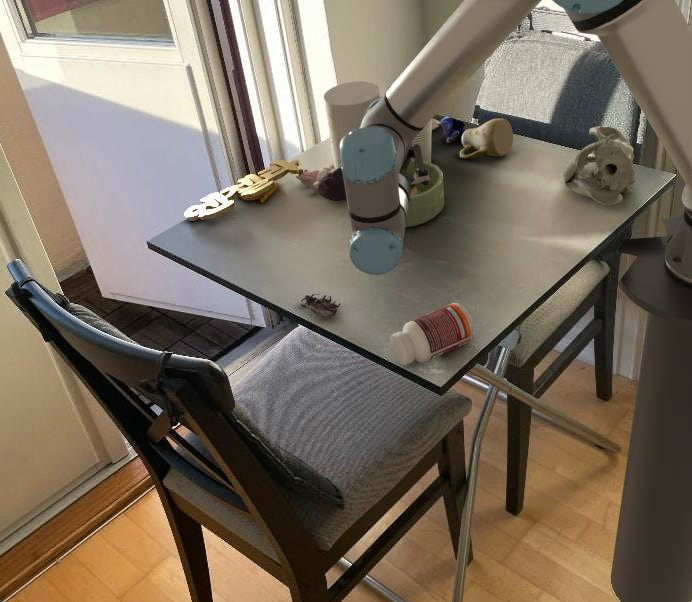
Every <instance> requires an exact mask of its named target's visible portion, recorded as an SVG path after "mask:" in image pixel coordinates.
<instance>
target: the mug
mask: <svg viewBox="0 0 692 602" xmlns="http://www.w3.org/2000/svg"><path fill="white" fill-rule="evenodd" d="M465 130H466V131H465V132H464V133H463V135H462V139H461V140H460V141H461V144H462V145H463V148H462V149H461V150H460V151H459V157H460V158H461V159H465V160H468V159H472V158H475V157H478V156H481V155H488V156H490V157H502V156H506V155H508V154H509V153H510V151H511V149H512V147H513V143H514V132H513V129H512V126H511V124H510V122H509V120H508V119H506V118H501V117H500V118H499V117H498V118H493V119H490V120H488V121H486V122H484V123H483V124H481V125H479V126H477V127H473V128H467V129H465ZM468 150H475V151H474V152H472V153H469V154H465V153H466V151H468ZM476 150H477V151H476Z"/></svg>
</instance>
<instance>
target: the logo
mask: <svg viewBox="0 0 692 602" xmlns="http://www.w3.org/2000/svg"><path fill="white" fill-rule="evenodd" d="M253 184H254V183H253ZM278 188H279V185H278V182H275V186H274V187H273V188H271V189H269V190H267V191H265V192H264V193H262V194H260V195H258V196H256V197H252V198H245V199H242V196H240V194H239V195H237V197H238V198H239V199H241V200H242V201H255V200H260V203H262V204H263V203H264V202H265V201H266V200H267V199H268V198H269V197H271V195H272V194H273V193H274V192H275V191H276V190H277V189H278Z"/></svg>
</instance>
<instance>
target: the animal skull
mask: <svg viewBox="0 0 692 602" xmlns="http://www.w3.org/2000/svg"><path fill="white" fill-rule="evenodd" d="M588 135H590V136H592V135H594V136H595V137H596V138H597V141H596V142H593V143H592V142H591V143H589V144H588V145H586V146H585V147H583V148H582V149H581V150H580V151H579V152H578V153H577V154H575V155H574V156H572V157H571V158H570V159H569V160H568V161H567V163H566V166H565V167H564V169H563V171H562V179H563V183H564V186H566V187H567V188H569V189H570V190H571V191H572V192H574V193H576V194H578V195H580V196H582V197H585V198H589V199H592V200H593V201H594V202H596V203H598V204H599V205H604V206H612V205H613V206H614V205H617V204H620V203H622V202H623V200H624V197H623V194H622V193H624V194H627V193H629V194H630V193H632V191H633V189H634V187H632V185H634V184H635V182H636V180H635V170H634V168H633V165H634V159H635V154H634V147H633V146H632V145H631V142H630V140H629V139H628V137H626V135H625V134H624V133H622V131H620V130H619V129H617V128H615V127H614V126H613V127H612V126H611V125H604V126H595V127H591V128H589V131H588ZM589 163H590V164H591V163H595V167H594V168H593V170H591V171H590V172H589V173H588V174H587V175H586V176H582V175H580V174H581V173H580V172H582V170H583V169H585V166H588V164H589ZM602 180H605V183H606V185H603V186H602Z"/></svg>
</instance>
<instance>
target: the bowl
mask: <svg viewBox="0 0 692 602" xmlns="http://www.w3.org/2000/svg"><path fill="white" fill-rule="evenodd" d="M423 163H424V166H426V167H427V168H428V170H429V182H430V183H429V185H422V184H421V183H417V184H415V187H416V188H417V190H418V195H414V196H411V197H410V200H409V206H408V212H407V218H406V224H405V228H411V227H415V226H419V225H423V224H425V223H427V222H429V221H430V220H432V219H434V218H435V217H436V216H438V215H439V214H440V212H442V211H443V209H444V206H445V189H444V176H443V171H442V170H441V168H440V167H439V166H438V165H437V164H435V163H432V162H431V163H430V162H426V161H423ZM407 172H408V173H410V174H411V175H412V176H414V173H415V172H416V167H415V161H414V160H411V161H410V163H409V166H408V168H407Z"/></svg>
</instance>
